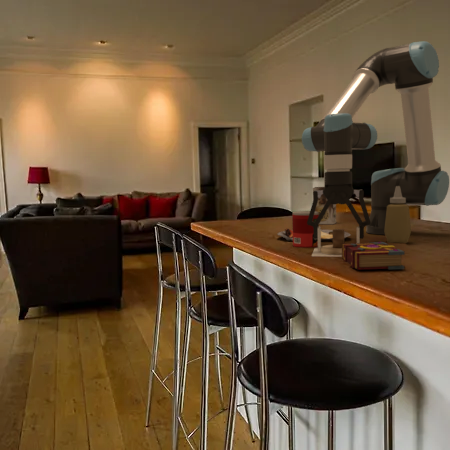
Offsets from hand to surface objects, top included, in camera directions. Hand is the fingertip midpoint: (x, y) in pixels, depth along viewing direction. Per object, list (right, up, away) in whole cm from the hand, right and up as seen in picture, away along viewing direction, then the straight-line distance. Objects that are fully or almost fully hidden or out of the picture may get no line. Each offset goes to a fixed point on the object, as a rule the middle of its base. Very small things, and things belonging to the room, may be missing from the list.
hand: (338, 250), depth 143 cm
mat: (0, -1, 0) cm, 1 cm away
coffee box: (+12, +7, +80) cm, 81 cm away
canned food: (-7, 0, +14) cm, 16 cm away
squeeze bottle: (+23, +1, +18) cm, 29 cm away
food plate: (-1, +2, +33) cm, 33 cm away
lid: (0, 0, 0) cm, 0 cm away
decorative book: (+4, -3, -16) cm, 17 cm away
